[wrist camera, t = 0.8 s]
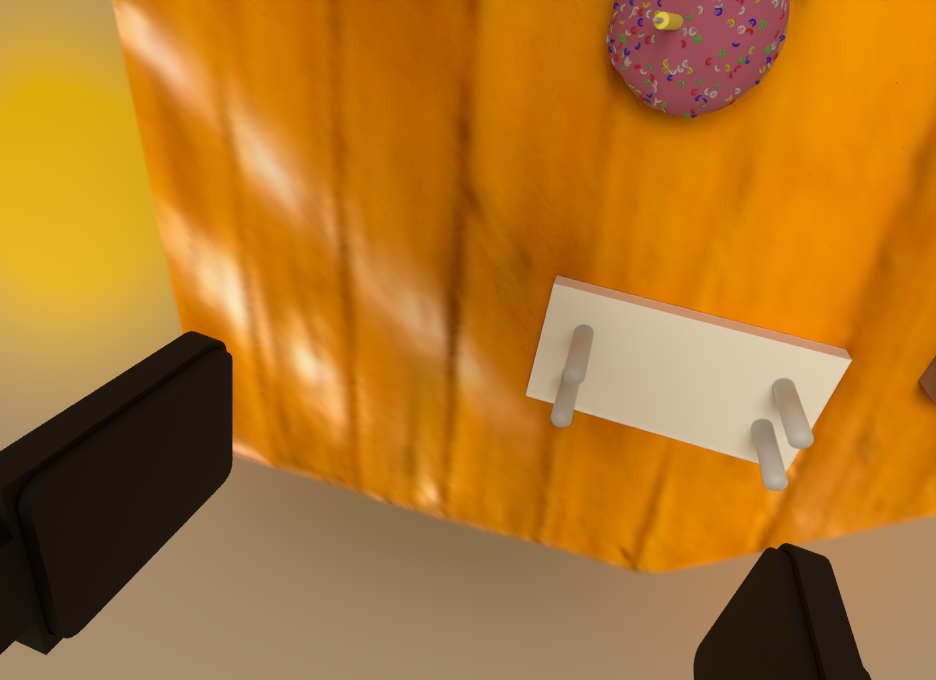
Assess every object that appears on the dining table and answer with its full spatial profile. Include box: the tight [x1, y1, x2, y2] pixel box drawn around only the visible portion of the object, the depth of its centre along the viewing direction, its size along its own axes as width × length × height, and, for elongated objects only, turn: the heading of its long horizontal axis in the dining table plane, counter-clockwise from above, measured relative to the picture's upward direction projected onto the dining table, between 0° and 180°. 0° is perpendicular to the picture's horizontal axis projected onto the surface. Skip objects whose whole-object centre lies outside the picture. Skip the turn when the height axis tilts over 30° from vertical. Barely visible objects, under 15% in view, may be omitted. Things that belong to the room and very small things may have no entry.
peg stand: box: [526, 276, 852, 491], centre depth 41 cm, size 20×10×8 cm, turn 81°
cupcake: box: [607, 0, 789, 117], centre depth 29 cm, size 9×8×12 cm
